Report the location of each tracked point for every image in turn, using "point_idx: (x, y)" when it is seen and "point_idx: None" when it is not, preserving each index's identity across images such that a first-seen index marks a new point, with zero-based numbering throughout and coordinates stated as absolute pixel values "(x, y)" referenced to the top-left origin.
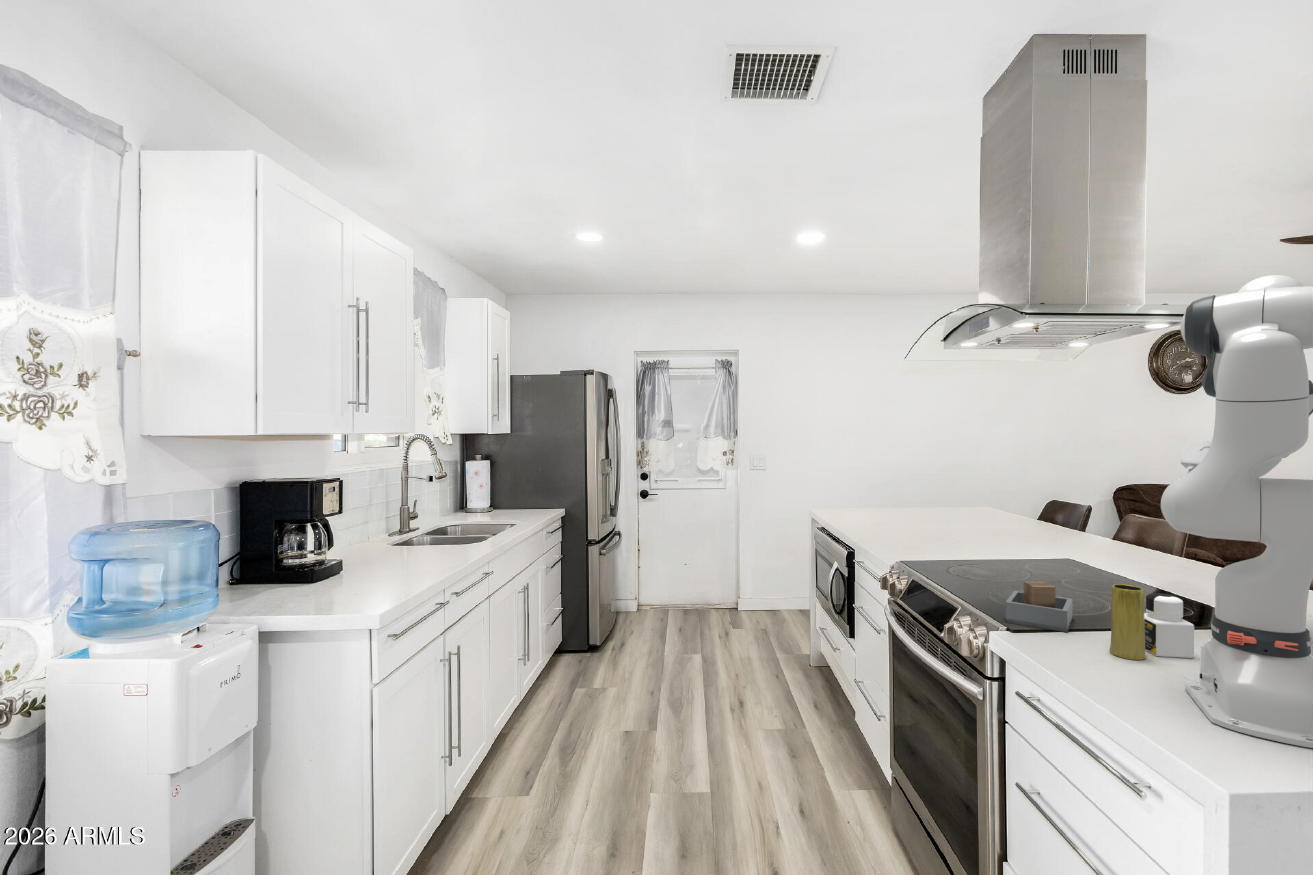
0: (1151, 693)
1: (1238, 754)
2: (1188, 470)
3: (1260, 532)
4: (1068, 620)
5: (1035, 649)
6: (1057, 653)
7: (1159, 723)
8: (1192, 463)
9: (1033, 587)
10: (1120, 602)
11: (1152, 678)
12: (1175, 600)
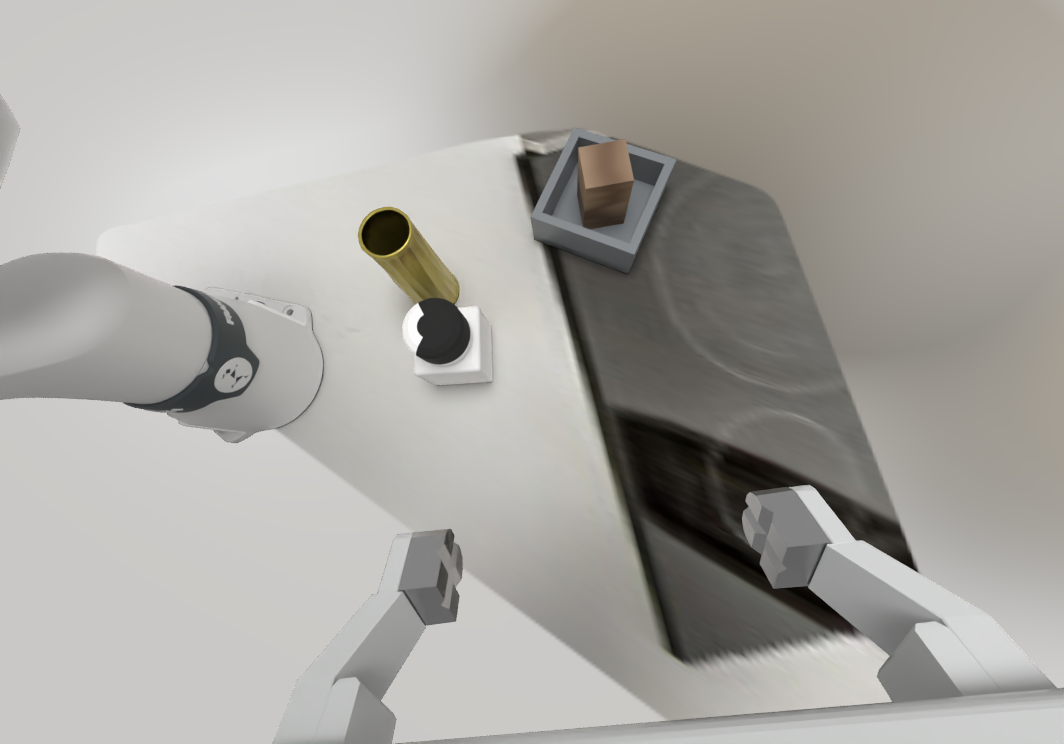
0: (292, 262)
1: (152, 277)
2: (908, 598)
3: None
4: (551, 237)
5: (436, 171)
6: (424, 195)
7: (213, 235)
8: (1006, 696)
9: (578, 149)
10: (383, 230)
11: (343, 285)
12: (404, 335)
